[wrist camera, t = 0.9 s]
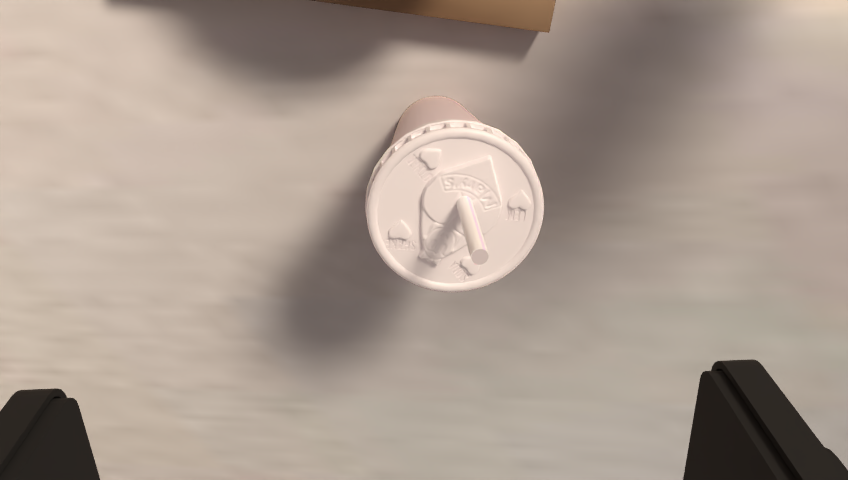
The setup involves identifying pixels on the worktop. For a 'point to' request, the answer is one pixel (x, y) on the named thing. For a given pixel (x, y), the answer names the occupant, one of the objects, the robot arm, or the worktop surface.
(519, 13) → the block
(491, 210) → the smoothie
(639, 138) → the worktop surface
